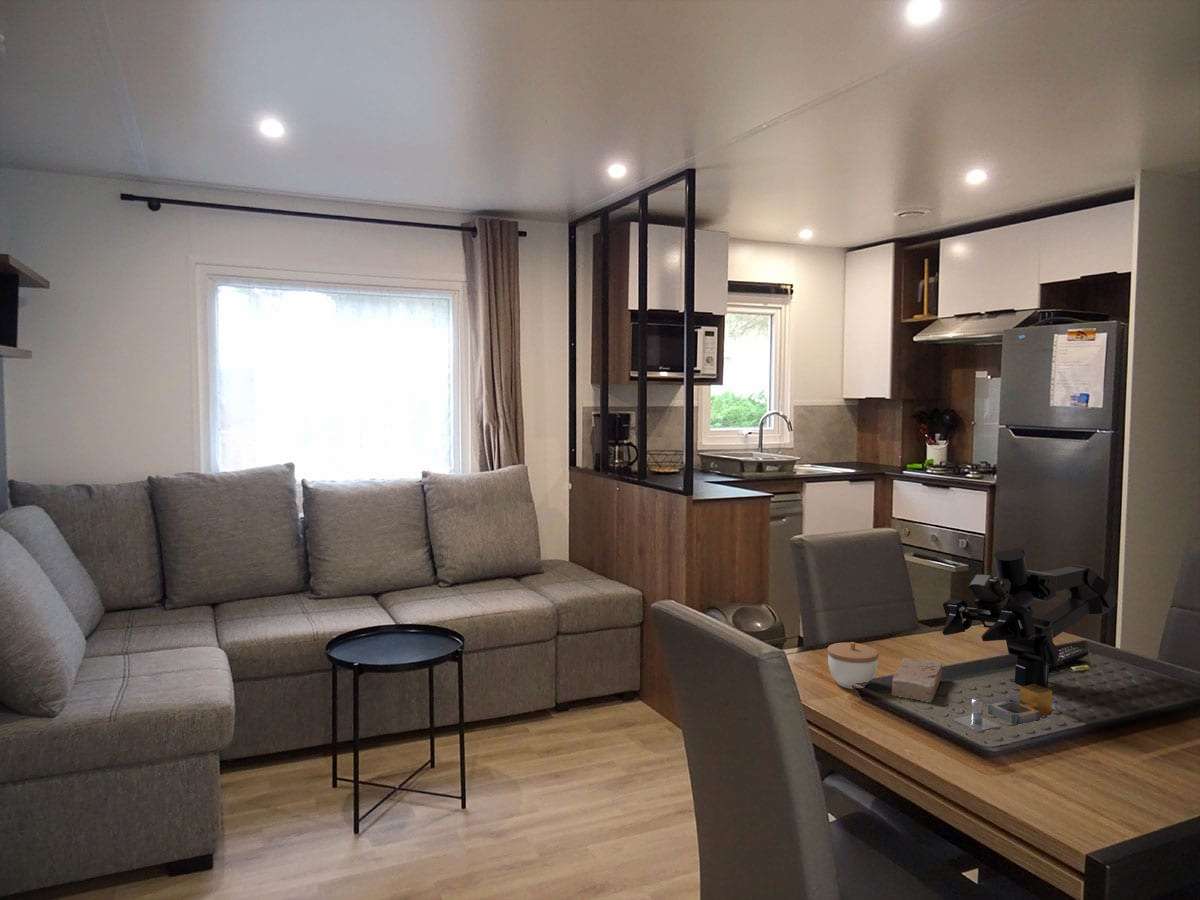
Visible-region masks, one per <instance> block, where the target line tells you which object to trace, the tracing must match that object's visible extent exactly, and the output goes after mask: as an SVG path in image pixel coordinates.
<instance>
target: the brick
mask: <svg viewBox="0 0 1200 900" xmlns="http://www.w3.org/2000/svg"><path fill="white" fill-rule="evenodd" d="M942 671H943V663H941V662H938V661H934V660H929V659H920V658H919V659H917V658H908V657H903V658H902V659H901V662H900V666H899V667H898V669H896V671H895V673H894V675H893V676H892V679H891V680H892V681H891V696H892V695H894V696H893V697H895V696H901V697H907V698H912V699H918V700H923V701H928V702H930V701H932V702H933V700H934V697H935V695H936V692H937V689H938V688H939V685H940V682H941V680H942V673H943V672H942ZM901 697H900V698H901ZM912 699H911V700H912ZM930 703H931V702H930Z"/></svg>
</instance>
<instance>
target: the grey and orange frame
mask: <svg viewBox="0 0 1200 900" xmlns="http://www.w3.org/2000/svg"><path fill="white" fill-rule="evenodd" d="M1019 689H1020V690H1019V691H1020V692H1019V696H1020V703H1018V702H1016V701H1014V700H1008V701H1003V702H999V703H994V704H989V706H988V714H991V715H993V716H995V717H998V718H1000V719H1003V720H1005V721H1007V722H1010V723H1012V724H1015V725H1018V724H1023V723H1028V722H1033V721H1039V720H1040V717H1042V716H1047V715H1051V713H1052V711H1055V710H1056V702H1053V690H1052V689H1049V688H1048V687H1047V688H1044V687H1041V686H1039V685H1036V684H1031V685H1026V686H1022V685H1020V688H1019ZM1012 712H1014V713H1012ZM1015 713H1017V714H1015Z"/></svg>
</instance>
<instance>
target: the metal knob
mask: <svg viewBox="0 0 1200 900" xmlns="http://www.w3.org/2000/svg"><path fill="white" fill-rule="evenodd" d="M970 701H971V704H970V705H971V715H968V716H963V717H958V718H954V719H952V721H953V722H956V723H958V724H960V725H962V726H964V727H967V728H969V729H971V730H974V731H976V732H981V731H986V730H990V729H996V728H1001V726H1000V725H998V724H996V723H994V722H992V721H990V720H987V719H985V718H983V717H982V715H983V702H984V700H983V699H981V698H978V697H972V698H971V700H970Z"/></svg>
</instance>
